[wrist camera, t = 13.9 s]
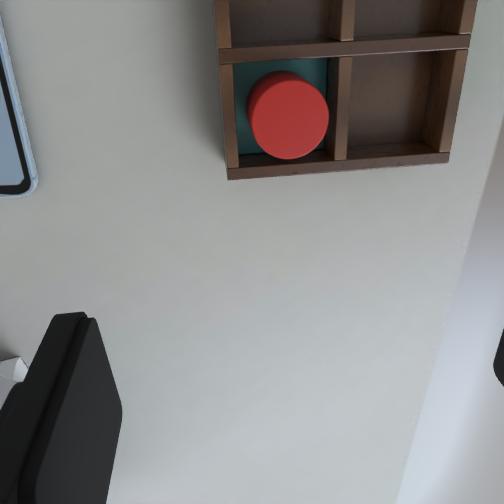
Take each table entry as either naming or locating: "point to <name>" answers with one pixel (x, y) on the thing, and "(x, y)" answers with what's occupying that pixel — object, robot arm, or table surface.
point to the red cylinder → (286, 114)
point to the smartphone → (13, 134)
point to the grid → (347, 78)
